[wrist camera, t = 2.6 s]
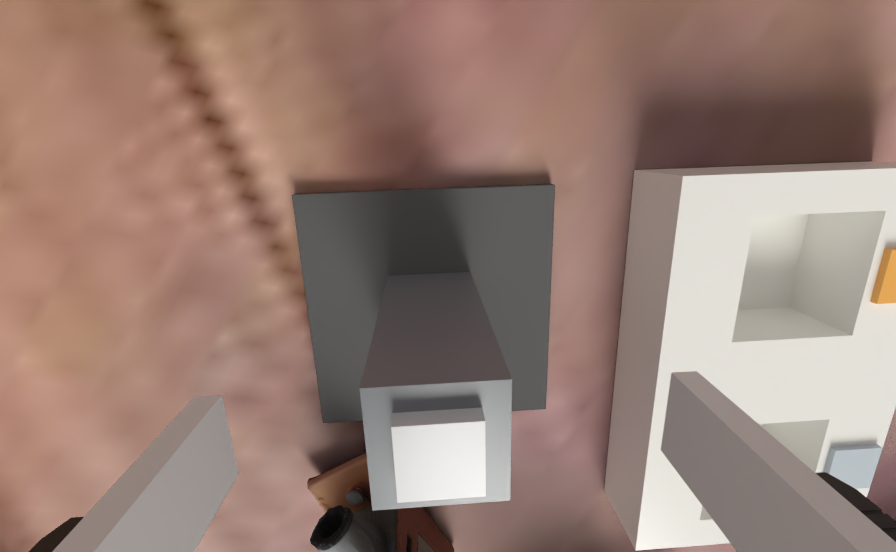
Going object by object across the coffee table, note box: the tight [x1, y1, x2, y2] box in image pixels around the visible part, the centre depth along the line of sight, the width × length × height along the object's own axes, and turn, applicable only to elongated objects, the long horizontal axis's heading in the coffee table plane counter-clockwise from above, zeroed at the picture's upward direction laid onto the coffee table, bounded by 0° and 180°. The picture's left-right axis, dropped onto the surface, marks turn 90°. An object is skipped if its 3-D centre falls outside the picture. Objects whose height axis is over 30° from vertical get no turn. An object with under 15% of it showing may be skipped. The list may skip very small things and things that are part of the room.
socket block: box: [604, 161, 896, 551], centre depth 22 cm, size 12×19×4 cm, turn 2°
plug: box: [360, 272, 512, 511], centre depth 16 cm, size 4×4×11 cm
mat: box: [292, 184, 555, 423], centre depth 22 cm, size 12×12×1 cm
